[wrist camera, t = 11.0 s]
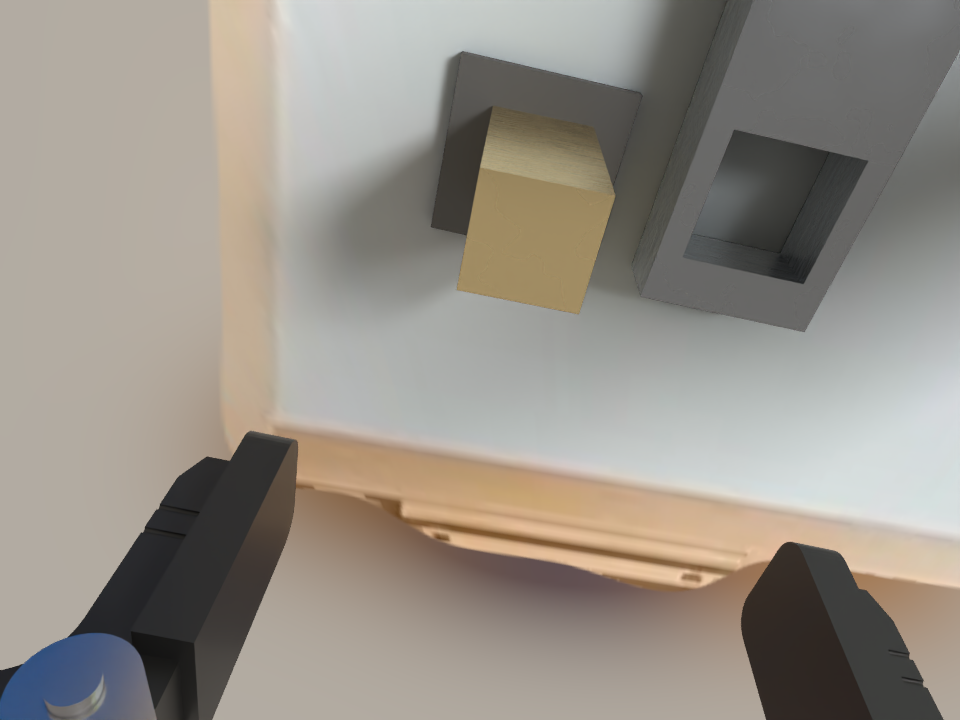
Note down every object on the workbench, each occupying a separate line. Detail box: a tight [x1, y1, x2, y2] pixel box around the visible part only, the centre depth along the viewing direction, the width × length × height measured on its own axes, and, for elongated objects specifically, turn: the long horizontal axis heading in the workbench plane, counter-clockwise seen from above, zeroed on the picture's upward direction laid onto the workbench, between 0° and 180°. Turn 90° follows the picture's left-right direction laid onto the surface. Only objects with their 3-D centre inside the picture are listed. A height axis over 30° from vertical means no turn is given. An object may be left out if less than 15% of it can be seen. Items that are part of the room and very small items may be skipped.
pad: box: [431, 51, 642, 235], centre depth 27 cm, size 7×7×1 cm
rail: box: [631, 0, 960, 332], centre depth 23 cm, size 7×21×3 cm, turn 168°
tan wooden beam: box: [457, 106, 616, 314], centre depth 24 cm, size 4×4×8 cm
